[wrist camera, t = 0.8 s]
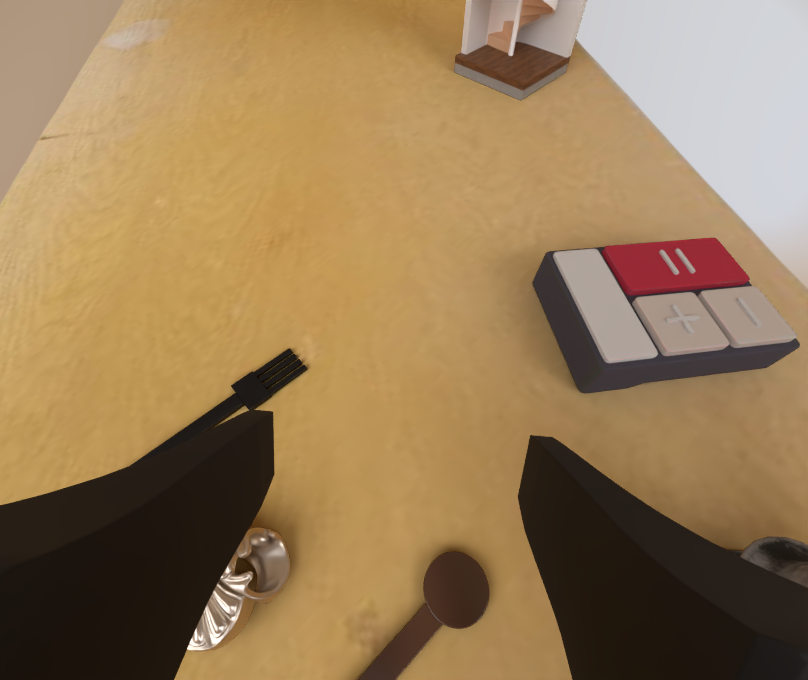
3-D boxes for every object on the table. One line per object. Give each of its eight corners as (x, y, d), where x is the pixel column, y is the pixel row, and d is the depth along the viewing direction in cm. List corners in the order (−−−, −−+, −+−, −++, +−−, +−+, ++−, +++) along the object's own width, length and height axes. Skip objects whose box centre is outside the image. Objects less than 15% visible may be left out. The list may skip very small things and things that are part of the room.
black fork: (109, 514, 25) (105, 513, 24) (94, 482, 26) (90, 480, 26) (308, 370, 30) (307, 367, 30) (289, 349, 31) (288, 346, 31)
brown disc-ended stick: (274, 867, 17) (270, 876, 16) (232, 777, 18) (227, 782, 18) (500, 590, 22) (503, 590, 22) (454, 538, 24) (455, 537, 23)
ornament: (273, 488, 26) (254, 473, 22) (305, 606, 22) (288, 606, 19) (141, 548, 24) (102, 540, 21) (154, 685, 20) (108, 700, 17)
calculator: (814, 340, 27) (607, 364, 25) (763, 372, 30) (579, 395, 29) (719, 230, 33) (547, 243, 31) (686, 267, 36) (530, 281, 35)
